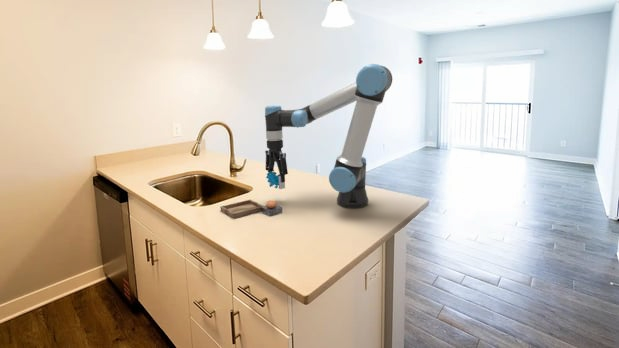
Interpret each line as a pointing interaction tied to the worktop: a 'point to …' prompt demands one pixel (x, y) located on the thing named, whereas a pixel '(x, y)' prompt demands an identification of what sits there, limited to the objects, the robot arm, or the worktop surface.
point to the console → (271, 210)
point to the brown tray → (241, 209)
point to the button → (271, 204)
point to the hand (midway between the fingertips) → (277, 186)
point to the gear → (273, 179)
